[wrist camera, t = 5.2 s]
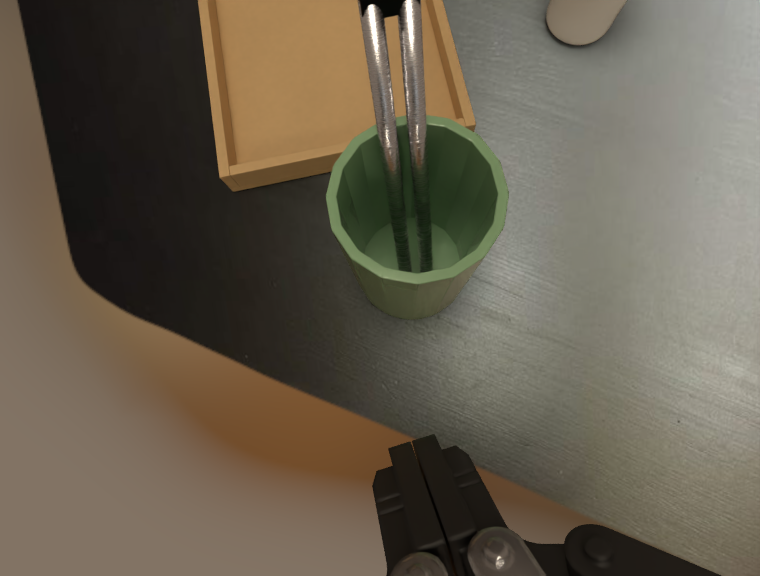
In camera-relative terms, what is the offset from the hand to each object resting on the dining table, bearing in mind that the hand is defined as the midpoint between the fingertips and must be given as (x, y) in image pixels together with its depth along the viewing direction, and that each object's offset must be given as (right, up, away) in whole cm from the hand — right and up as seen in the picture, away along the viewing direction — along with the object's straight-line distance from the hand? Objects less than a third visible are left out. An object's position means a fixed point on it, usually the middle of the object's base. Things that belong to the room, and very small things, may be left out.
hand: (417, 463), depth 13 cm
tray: (-7, +31, +24) cm, 40 cm away
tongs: (0, +10, +10) cm, 14 cm away
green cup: (+1, +7, +19) cm, 20 cm away
